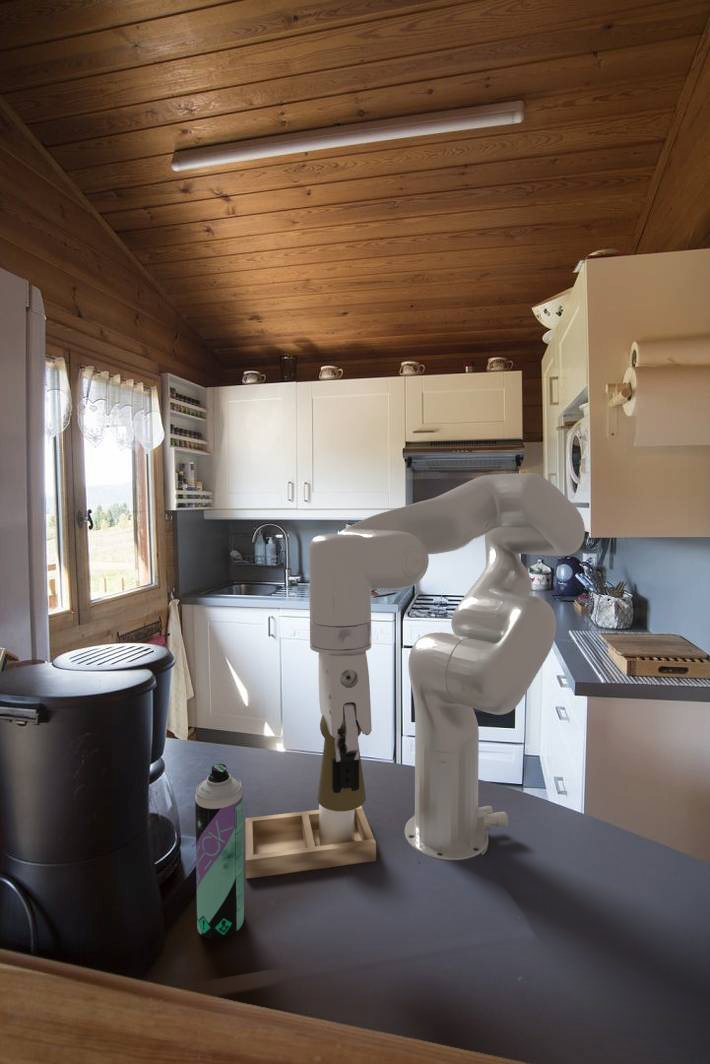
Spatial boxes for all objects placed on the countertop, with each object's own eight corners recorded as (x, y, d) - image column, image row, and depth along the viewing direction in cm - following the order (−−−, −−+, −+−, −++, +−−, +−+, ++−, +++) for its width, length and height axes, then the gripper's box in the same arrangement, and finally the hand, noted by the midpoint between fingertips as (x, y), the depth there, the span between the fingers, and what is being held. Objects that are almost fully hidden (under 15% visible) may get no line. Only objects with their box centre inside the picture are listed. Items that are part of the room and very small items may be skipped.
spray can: (205, 911, 68) (203, 755, 67) (248, 912, 68) (246, 756, 67) (190, 946, 62) (188, 777, 61) (237, 948, 62) (235, 778, 61)
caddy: (360, 826, 86) (360, 804, 86) (376, 867, 76) (375, 843, 76) (245, 840, 82) (245, 818, 82) (246, 885, 72) (245, 860, 72)
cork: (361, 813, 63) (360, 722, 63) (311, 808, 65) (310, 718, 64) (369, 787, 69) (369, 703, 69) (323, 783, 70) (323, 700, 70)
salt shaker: (350, 830, 83) (350, 767, 83) (357, 851, 78) (357, 784, 77) (317, 834, 82) (316, 770, 82) (322, 856, 77) (321, 788, 76)
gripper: (389, 650, 59) (390, 814, 60) (355, 619, 75) (356, 748, 76) (321, 655, 57) (322, 823, 58) (301, 622, 73) (303, 753, 74)
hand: (341, 779), depth 67 cm, fingers closed on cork, 4 cm apart
